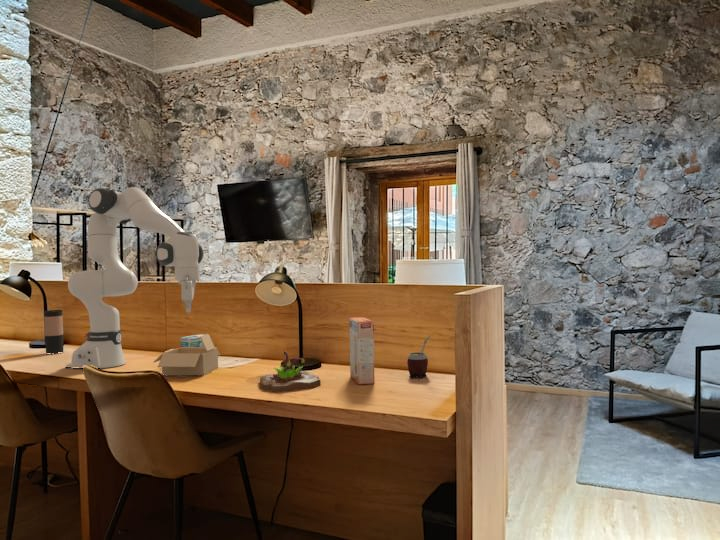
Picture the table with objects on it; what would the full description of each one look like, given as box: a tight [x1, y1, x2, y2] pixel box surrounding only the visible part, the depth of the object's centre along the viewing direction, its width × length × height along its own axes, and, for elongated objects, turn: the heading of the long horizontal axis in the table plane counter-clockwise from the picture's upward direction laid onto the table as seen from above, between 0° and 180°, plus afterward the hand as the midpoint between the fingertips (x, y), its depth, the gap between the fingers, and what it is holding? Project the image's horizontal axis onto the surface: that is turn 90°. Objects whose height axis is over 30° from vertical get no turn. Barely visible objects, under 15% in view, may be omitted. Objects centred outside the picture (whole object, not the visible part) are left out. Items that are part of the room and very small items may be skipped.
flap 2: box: [200, 333, 216, 351], centre depth 210 cm, size 1×7×6 cm, turn 172°
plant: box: [259, 351, 321, 393], centre depth 187 cm, size 20×20×11 cm
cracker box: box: [349, 316, 376, 385], centre depth 190 cm, size 14×6×21 cm, turn 12°
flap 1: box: [157, 352, 200, 368], centre depth 202 cm, size 14×1×6 cm
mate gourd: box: [407, 334, 434, 379], centre depth 193 cm, size 8×8×15 cm
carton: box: [153, 346, 221, 377], centre depth 214 cm, size 21×19×8 cm
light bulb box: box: [179, 333, 211, 348], centre depth 232 cm, size 11×7×11 cm, turn 143°
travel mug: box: [43, 309, 64, 353], centre depth 263 cm, size 8×8×20 cm
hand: (188, 311), depth 210 cm, fingers closed
